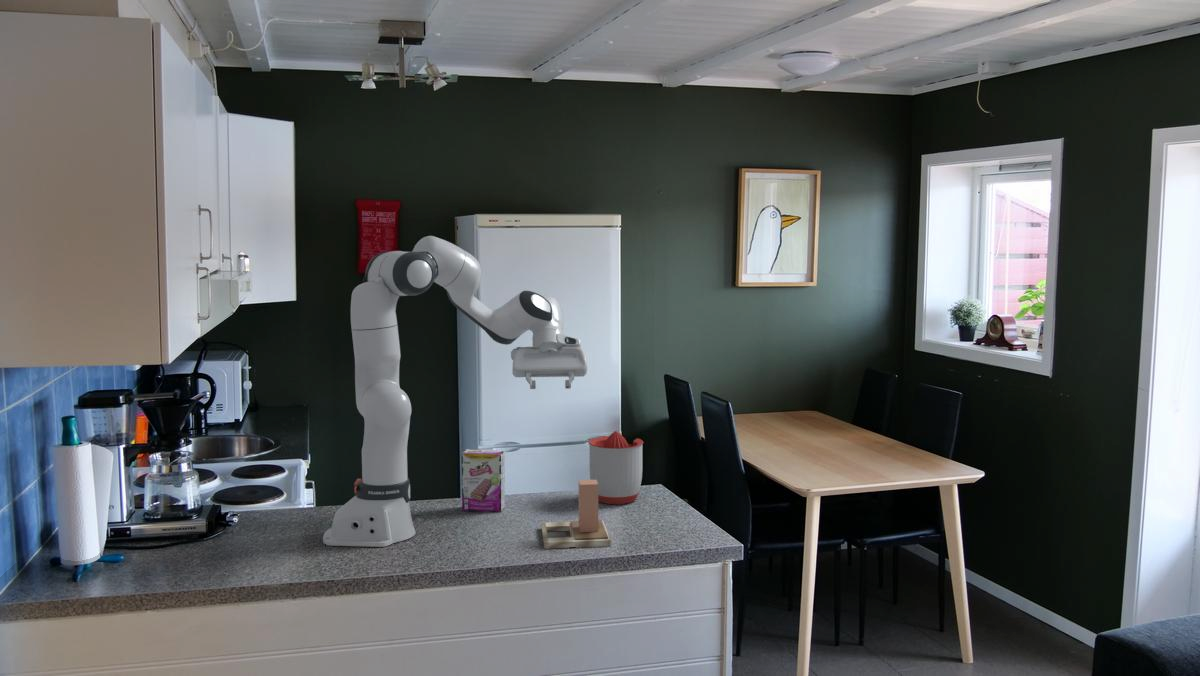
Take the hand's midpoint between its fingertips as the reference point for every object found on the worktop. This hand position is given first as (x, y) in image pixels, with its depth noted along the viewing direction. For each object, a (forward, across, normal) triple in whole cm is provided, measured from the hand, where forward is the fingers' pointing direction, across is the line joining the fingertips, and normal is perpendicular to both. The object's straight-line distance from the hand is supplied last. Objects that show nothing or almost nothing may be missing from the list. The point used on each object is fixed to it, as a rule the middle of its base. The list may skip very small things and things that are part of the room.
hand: (550, 387), depth 248 cm
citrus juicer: (+15, +20, +34) cm, 42 cm away
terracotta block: (+37, +8, +9) cm, 39 cm away
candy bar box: (+20, -18, +30) cm, 40 cm away
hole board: (+39, +5, +10) cm, 40 cm away
